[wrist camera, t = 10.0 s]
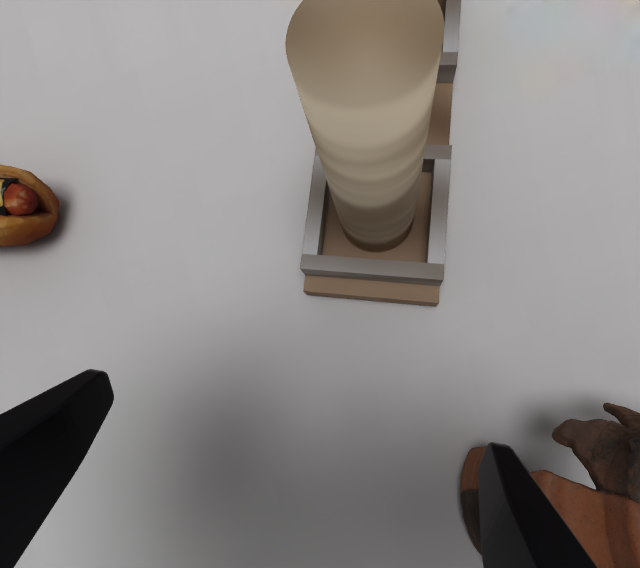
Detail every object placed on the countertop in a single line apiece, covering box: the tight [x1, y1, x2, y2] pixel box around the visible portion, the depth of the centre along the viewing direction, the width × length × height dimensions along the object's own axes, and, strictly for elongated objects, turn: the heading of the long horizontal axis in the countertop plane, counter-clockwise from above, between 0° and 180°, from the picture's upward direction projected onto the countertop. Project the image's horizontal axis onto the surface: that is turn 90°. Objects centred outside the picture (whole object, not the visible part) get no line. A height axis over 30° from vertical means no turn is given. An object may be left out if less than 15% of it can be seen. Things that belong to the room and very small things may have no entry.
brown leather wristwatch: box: [461, 403, 640, 568], centre depth 17 cm, size 12×9×8 cm
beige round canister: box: [286, 0, 444, 253], centre depth 17 cm, size 4×4×13 cm
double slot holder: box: [300, 0, 461, 307], centre depth 24 cm, size 21×7×3 cm, turn 173°
